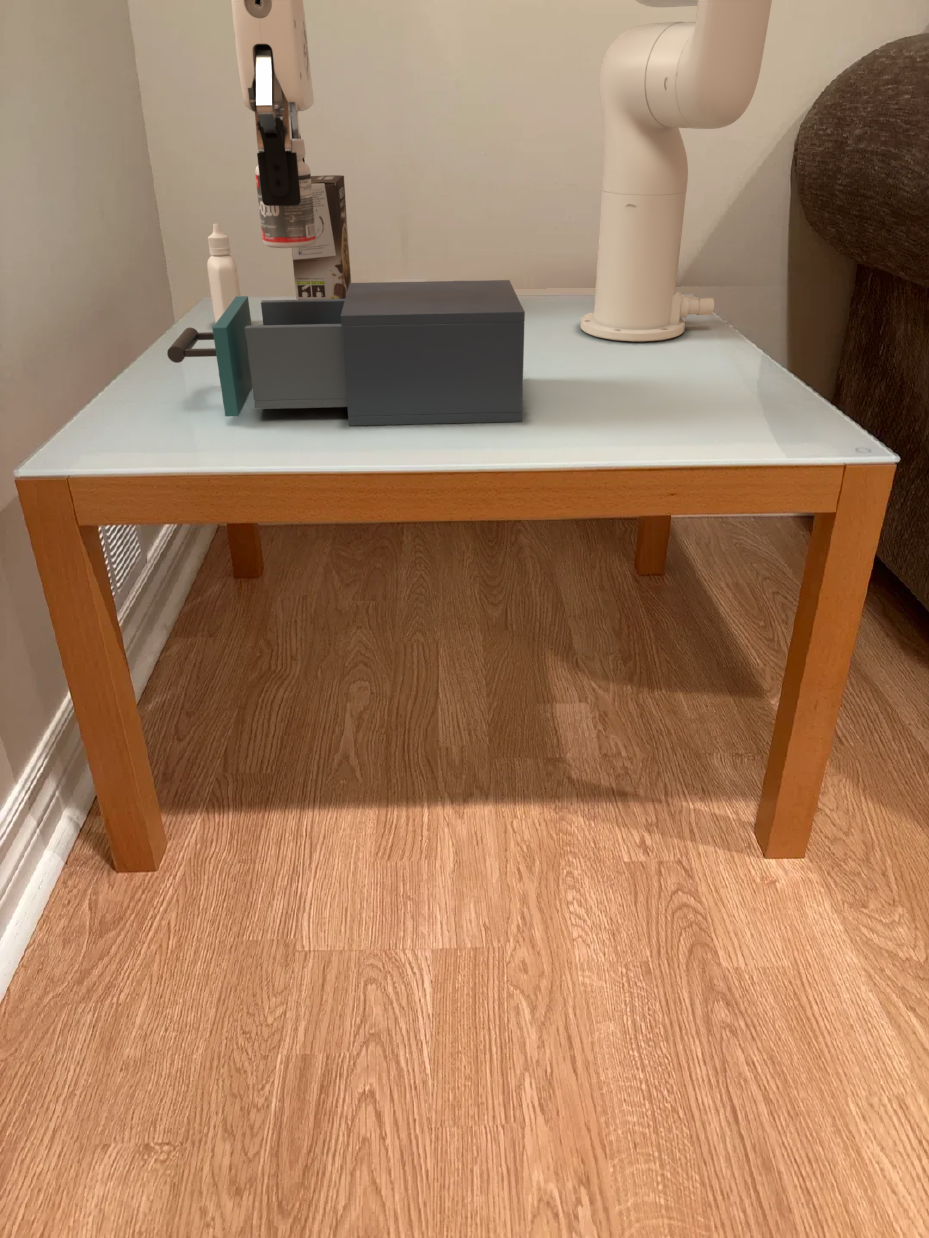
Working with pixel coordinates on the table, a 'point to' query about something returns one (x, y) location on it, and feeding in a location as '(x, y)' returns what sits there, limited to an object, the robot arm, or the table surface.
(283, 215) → the pill bottle
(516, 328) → the cabinet
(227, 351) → the drawer
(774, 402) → the table surface
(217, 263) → the eye dropper bottle
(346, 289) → the coffee box
